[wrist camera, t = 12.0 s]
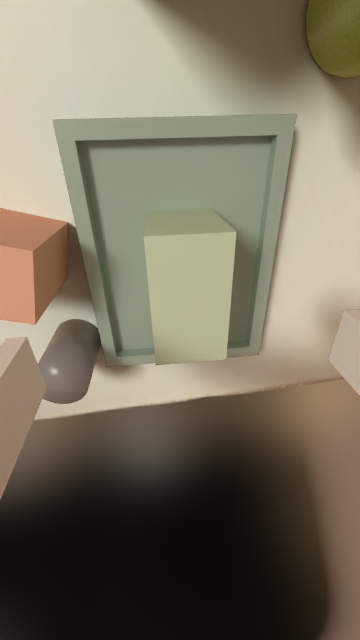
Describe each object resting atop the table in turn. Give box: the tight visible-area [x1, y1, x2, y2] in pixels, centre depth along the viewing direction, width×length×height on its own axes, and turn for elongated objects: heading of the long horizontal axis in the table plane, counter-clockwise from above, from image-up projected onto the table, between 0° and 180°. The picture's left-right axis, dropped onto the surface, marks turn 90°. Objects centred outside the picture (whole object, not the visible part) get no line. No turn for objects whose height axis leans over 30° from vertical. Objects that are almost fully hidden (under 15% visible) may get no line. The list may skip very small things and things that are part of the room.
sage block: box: [144, 208, 236, 365], centre depth 18 cm, size 4×8×7 cm, turn 2°
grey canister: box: [38, 319, 101, 404], centre depth 22 cm, size 4×4×6 cm
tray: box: [53, 114, 297, 367], centre depth 21 cm, size 14×18×2 cm
